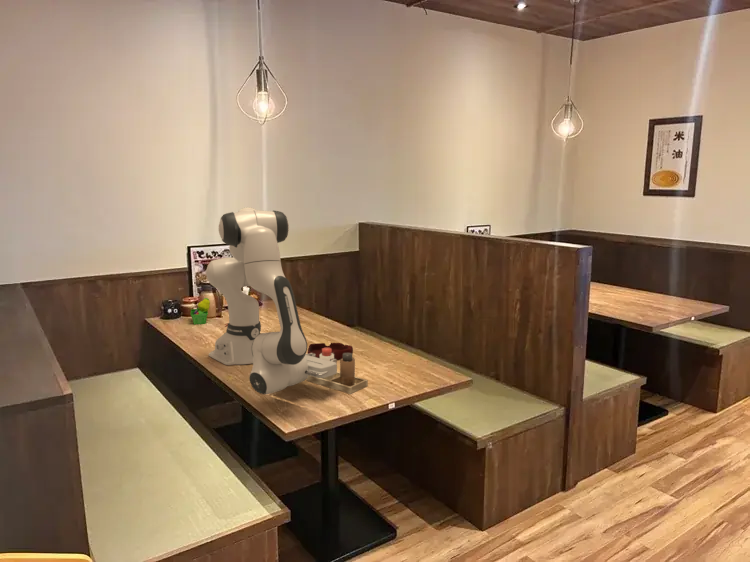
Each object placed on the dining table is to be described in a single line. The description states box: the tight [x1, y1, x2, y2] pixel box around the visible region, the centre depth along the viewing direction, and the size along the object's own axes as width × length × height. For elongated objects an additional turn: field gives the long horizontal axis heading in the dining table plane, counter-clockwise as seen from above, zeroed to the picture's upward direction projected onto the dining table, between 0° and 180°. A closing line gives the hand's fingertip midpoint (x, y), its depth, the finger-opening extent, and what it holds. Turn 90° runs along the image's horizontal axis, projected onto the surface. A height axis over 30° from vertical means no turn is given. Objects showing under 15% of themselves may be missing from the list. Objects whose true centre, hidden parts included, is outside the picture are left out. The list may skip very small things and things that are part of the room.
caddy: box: [306, 371, 369, 395], centre depth 192 cm, size 19×9×3 cm, turn 53°
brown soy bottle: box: [339, 353, 356, 386], centre depth 189 cm, size 5×5×11 cm
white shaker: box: [320, 348, 334, 380], centre depth 194 cm, size 5×5×11 cm
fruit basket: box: [190, 297, 211, 326], centre depth 270 cm, size 11×9×11 cm
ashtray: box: [307, 342, 354, 361], centre depth 219 cm, size 18×16×5 cm
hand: (324, 358), depth 192 cm, fingers open, 8 cm apart
